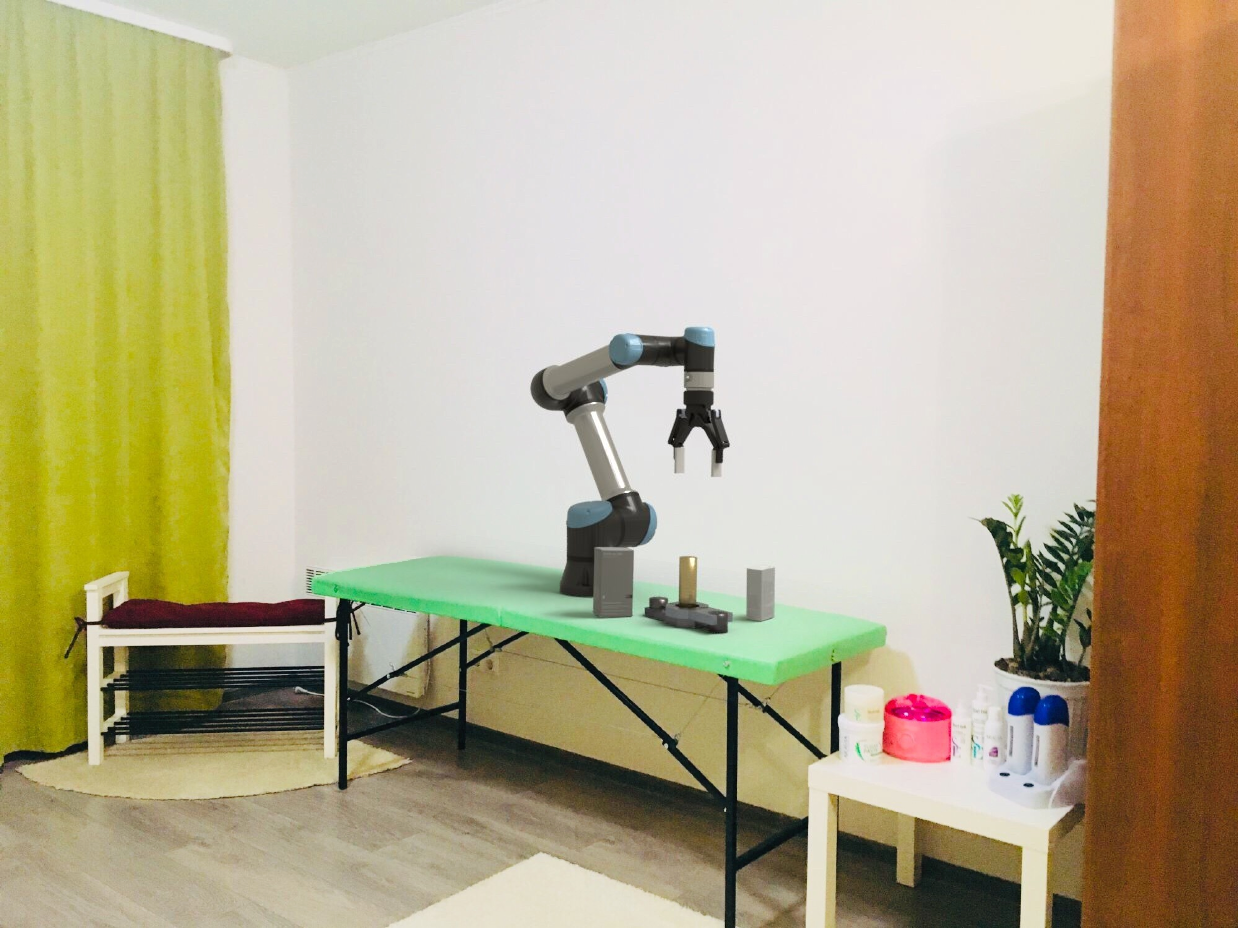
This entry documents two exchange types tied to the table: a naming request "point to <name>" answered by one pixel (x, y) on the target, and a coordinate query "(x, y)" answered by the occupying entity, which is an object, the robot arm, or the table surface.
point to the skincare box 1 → (613, 581)
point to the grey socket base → (689, 615)
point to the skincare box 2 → (760, 593)
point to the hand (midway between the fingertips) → (697, 475)
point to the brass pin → (687, 581)
